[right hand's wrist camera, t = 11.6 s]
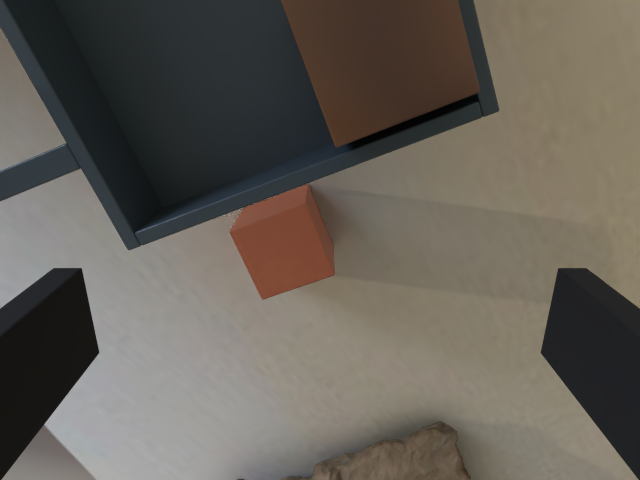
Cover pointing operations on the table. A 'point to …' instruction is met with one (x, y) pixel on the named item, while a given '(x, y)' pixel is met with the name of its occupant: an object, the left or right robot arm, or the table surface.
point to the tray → (191, 106)
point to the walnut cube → (381, 60)
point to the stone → (399, 459)
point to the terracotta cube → (284, 242)
